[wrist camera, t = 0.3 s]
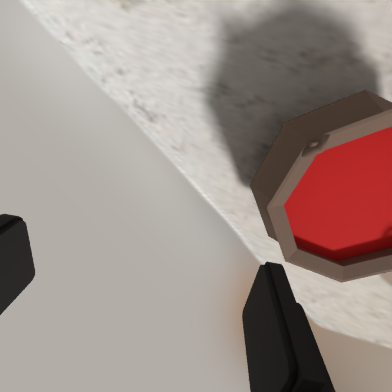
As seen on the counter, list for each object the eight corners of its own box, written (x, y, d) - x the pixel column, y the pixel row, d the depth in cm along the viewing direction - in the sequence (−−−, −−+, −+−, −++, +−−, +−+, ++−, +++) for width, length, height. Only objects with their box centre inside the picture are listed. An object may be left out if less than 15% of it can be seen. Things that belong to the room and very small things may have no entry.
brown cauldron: (429, 170, 37) (569, 227, 22) (300, 251, 46) (340, 331, 31) (345, 47, 31) (462, 15, 16) (214, 168, 40) (214, 218, 25)
